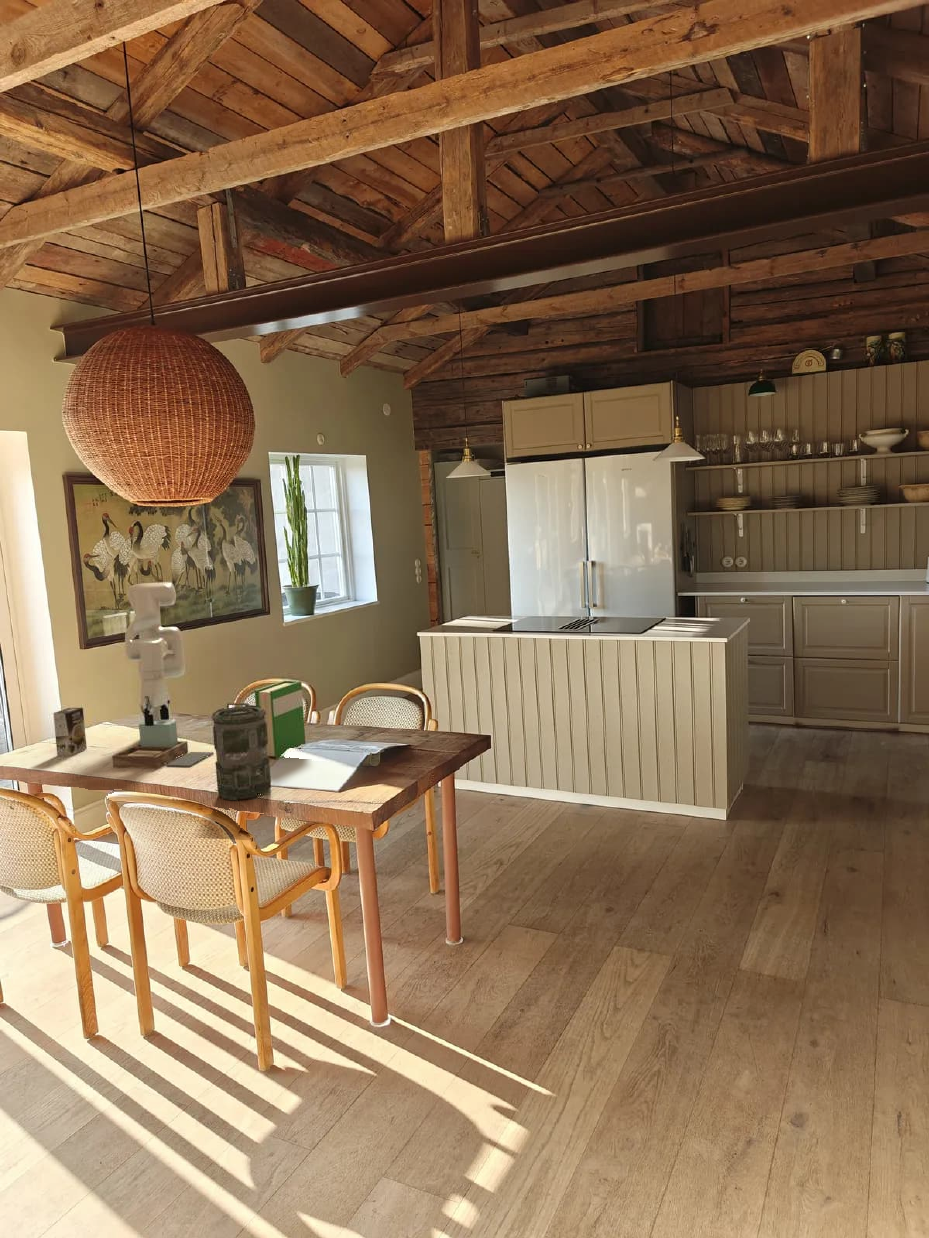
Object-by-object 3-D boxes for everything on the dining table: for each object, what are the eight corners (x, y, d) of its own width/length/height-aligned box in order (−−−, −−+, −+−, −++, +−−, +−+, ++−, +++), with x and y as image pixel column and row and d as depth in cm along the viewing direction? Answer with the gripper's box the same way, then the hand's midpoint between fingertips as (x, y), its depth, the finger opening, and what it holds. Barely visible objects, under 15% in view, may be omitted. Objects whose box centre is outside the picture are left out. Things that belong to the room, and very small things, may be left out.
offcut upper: (138, 755, 307) (137, 750, 307) (162, 756, 304) (162, 751, 304) (127, 760, 301) (127, 755, 301) (152, 761, 299) (151, 756, 298)
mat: (191, 753, 312) (190, 751, 312) (213, 753, 310) (213, 752, 310) (166, 766, 297) (166, 764, 297) (190, 767, 295) (190, 765, 295)
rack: (146, 751, 318) (145, 740, 318) (188, 752, 314) (187, 741, 314) (113, 767, 299) (111, 756, 298) (157, 768, 295) (156, 757, 294)
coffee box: (72, 756, 316) (67, 712, 314) (56, 755, 317) (52, 712, 315) (87, 749, 325) (83, 707, 323) (72, 748, 326) (68, 706, 324)
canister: (279, 785, 270) (273, 697, 267) (257, 802, 255) (250, 709, 252) (233, 784, 274) (226, 697, 270) (208, 800, 258) (201, 708, 255)
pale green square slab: (149, 753, 315) (146, 721, 314) (178, 753, 313) (175, 721, 311) (141, 756, 311) (138, 724, 309) (171, 757, 308) (169, 724, 307)
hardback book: (277, 759, 300) (272, 691, 297) (259, 757, 303) (254, 690, 300) (305, 745, 316) (301, 681, 313) (288, 744, 319) (284, 680, 316)
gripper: (157, 671, 317) (161, 717, 319) (129, 679, 300) (133, 728, 302) (175, 671, 316) (179, 717, 317) (148, 679, 299) (152, 728, 300)
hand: (157, 722), depth 310 cm, fingers open, 9 cm apart
